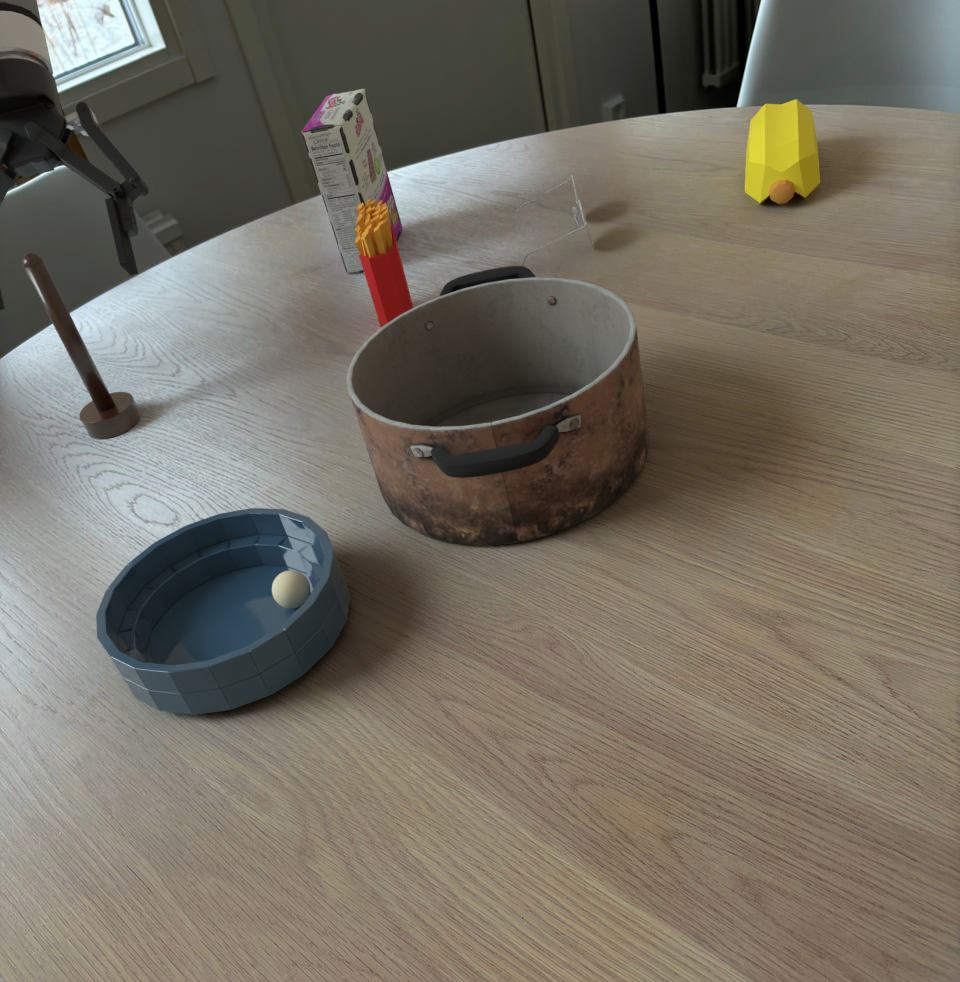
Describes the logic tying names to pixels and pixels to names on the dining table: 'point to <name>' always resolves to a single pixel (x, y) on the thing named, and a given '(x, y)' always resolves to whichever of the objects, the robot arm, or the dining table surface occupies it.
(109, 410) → the brown plunger
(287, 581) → the beige ball
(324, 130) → the candy bar box
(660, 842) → the dining table surface
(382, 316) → the french fries
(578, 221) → the eyeglasses frame
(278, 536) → the bowl
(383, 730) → the dining table surface
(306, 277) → the dining table surface
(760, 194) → the yellow faceted bell
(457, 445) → the cooking pot
